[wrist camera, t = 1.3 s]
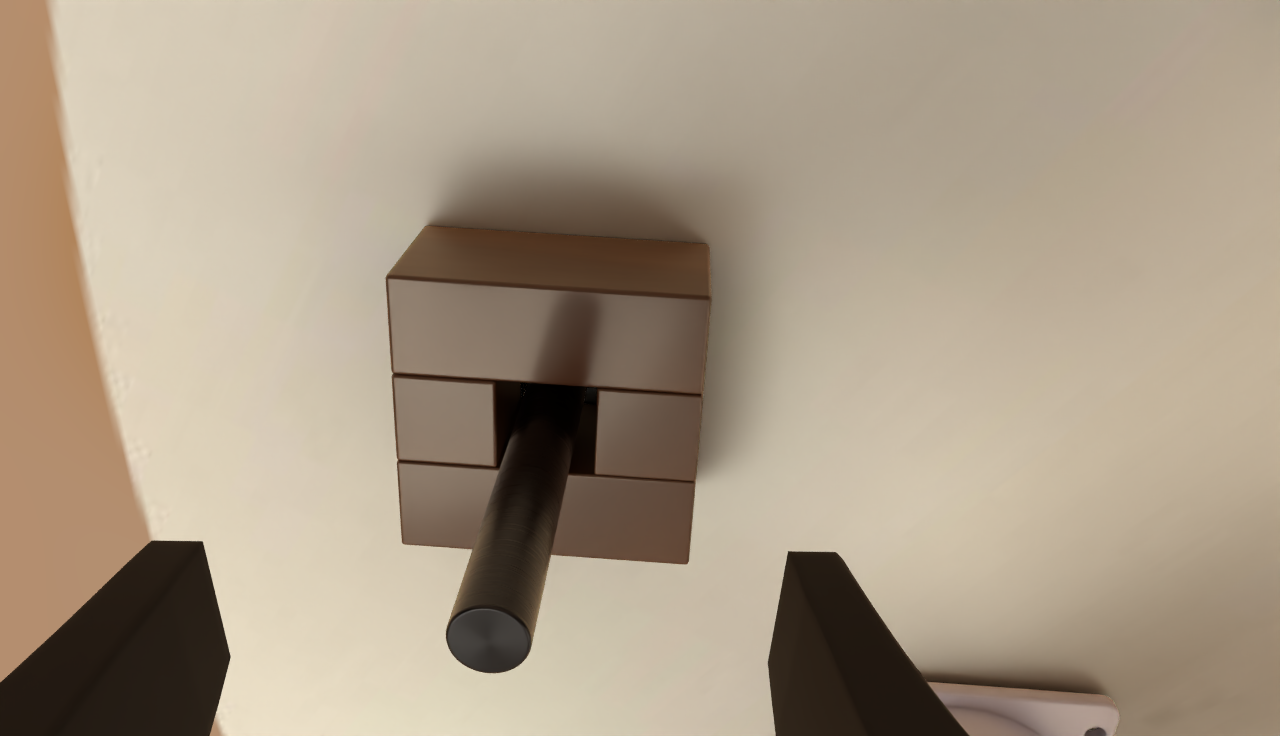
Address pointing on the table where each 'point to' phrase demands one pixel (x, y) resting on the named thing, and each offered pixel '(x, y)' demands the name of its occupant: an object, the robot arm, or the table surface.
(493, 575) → the stylus
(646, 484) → the dock
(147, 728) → the robot arm
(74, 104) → the table surface
